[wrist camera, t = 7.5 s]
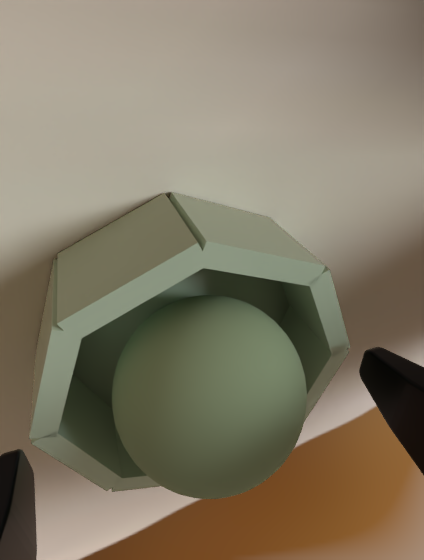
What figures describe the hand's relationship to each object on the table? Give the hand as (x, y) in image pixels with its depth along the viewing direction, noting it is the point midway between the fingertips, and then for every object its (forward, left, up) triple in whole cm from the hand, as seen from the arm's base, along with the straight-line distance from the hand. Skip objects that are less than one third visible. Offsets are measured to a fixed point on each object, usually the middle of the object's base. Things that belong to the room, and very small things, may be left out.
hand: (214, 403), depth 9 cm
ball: (0, 0, 0) cm, 0 cm away
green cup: (0, 0, -4) cm, 4 cm away
